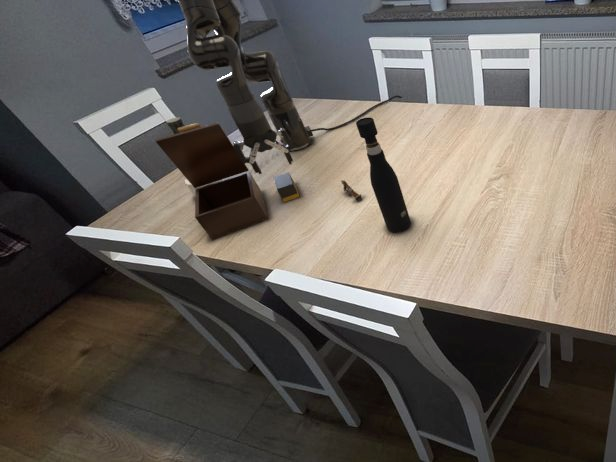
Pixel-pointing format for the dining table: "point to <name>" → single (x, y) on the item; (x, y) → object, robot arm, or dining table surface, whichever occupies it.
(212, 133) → the case lid
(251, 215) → the case
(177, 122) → the sauce bottle
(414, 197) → the dining table surface
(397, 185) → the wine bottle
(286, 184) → the duster
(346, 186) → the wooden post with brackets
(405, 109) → the dining table surface
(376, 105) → the robot arm
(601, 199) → the dining table surface
